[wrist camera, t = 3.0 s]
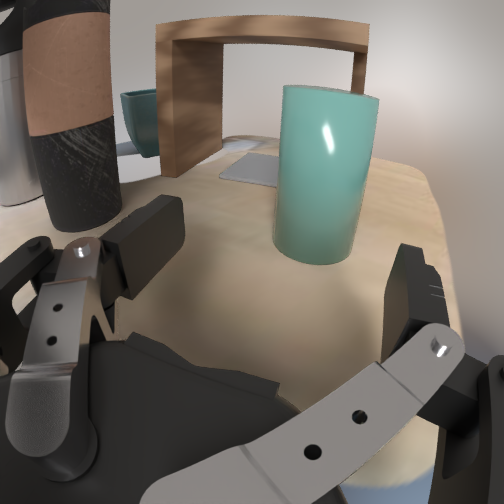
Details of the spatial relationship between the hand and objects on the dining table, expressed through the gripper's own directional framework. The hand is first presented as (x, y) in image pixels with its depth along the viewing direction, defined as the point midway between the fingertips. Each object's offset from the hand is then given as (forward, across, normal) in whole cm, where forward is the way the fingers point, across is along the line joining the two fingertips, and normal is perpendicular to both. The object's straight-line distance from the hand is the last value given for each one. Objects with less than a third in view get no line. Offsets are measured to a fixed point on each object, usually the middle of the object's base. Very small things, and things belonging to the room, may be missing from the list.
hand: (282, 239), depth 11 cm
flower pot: (+26, +24, +7) cm, 36 cm away
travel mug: (+8, +20, +7) cm, 23 cm away
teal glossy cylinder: (+11, 0, +7) cm, 13 cm away
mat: (+24, +7, +6) cm, 26 cm away
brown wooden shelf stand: (+24, +8, +6) cm, 26 cm away
